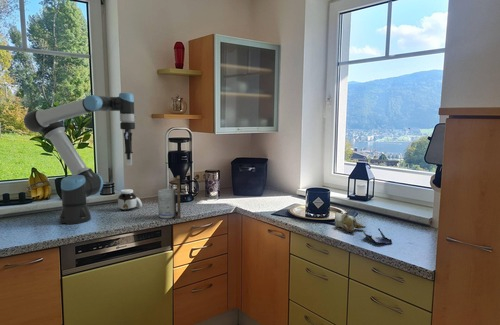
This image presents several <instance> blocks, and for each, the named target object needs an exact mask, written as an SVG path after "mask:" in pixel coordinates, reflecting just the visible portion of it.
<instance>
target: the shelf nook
mask: <svg viewBox="0 0 500 325" xmlns="http://www.w3.org/2000/svg"><path fill="white" fill-rule="evenodd" d="M180 176H181V175H176V176H175V177H170V178H169V179H170V181H169V182H170V184H176V194H177V195H176V207H177V210H176V215H175V217H174V219H175V220H177V219H181V218H182V217H181V215H182V214H181V178H180Z"/></svg>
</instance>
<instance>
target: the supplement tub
mask: <svg viewBox="0 0 500 325" xmlns="http://www.w3.org/2000/svg"><path fill="white" fill-rule="evenodd" d="M176 194H177V192H176V190H175V189H174V188H163V189H159V190H157V202H158V205H157V206H158V217H159V218H161V219H171V218H175V215H176V211H177V195H176Z"/></svg>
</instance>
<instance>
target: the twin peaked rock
mask: <svg viewBox="0 0 500 325" xmlns="http://www.w3.org/2000/svg"><path fill="white" fill-rule="evenodd" d="M375 229H377V231H379V232H380V235H381V236H376V237H375V236H373V235H372V234H367V233H366V232H365V231H364V230H365V229H364V230H363V229H361V231H362V232H363V234H364V236H365V238H367V239H369V241H370V242H373V243H375V244H376V245H379V244H383V245H384V246H385V245H391V244H393V241H392V239H391V238H388V237H386V236H385V235H384V233H383V232H382V230H381V228H375ZM369 233H371V232H369Z"/></svg>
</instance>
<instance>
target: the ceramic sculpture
mask: <svg viewBox="0 0 500 325" xmlns="http://www.w3.org/2000/svg"><path fill="white" fill-rule="evenodd" d="M334 226H335V227H336V228H342V229H344V230H346V231H347V232H354V231H355V229H358V230H359V229H361V230H362V229H366V228H367V227H366V226H364V225H362V224H361V223H360V222H358V221H357V220H356V217H355V216H353V215H351V214H350V213H349V212H344V213H340V212H335V215H334Z"/></svg>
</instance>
